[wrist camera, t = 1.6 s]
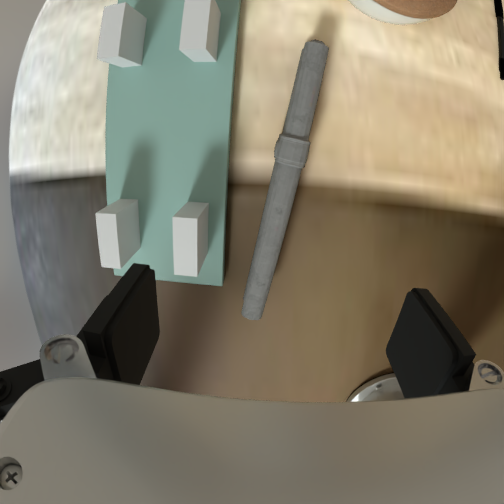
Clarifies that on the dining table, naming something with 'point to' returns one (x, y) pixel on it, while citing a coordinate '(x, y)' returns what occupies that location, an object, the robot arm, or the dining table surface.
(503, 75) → the pen
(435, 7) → the lidded jar
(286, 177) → the metal rod assembly
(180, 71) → the jaw cradle
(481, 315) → the dining table surface
